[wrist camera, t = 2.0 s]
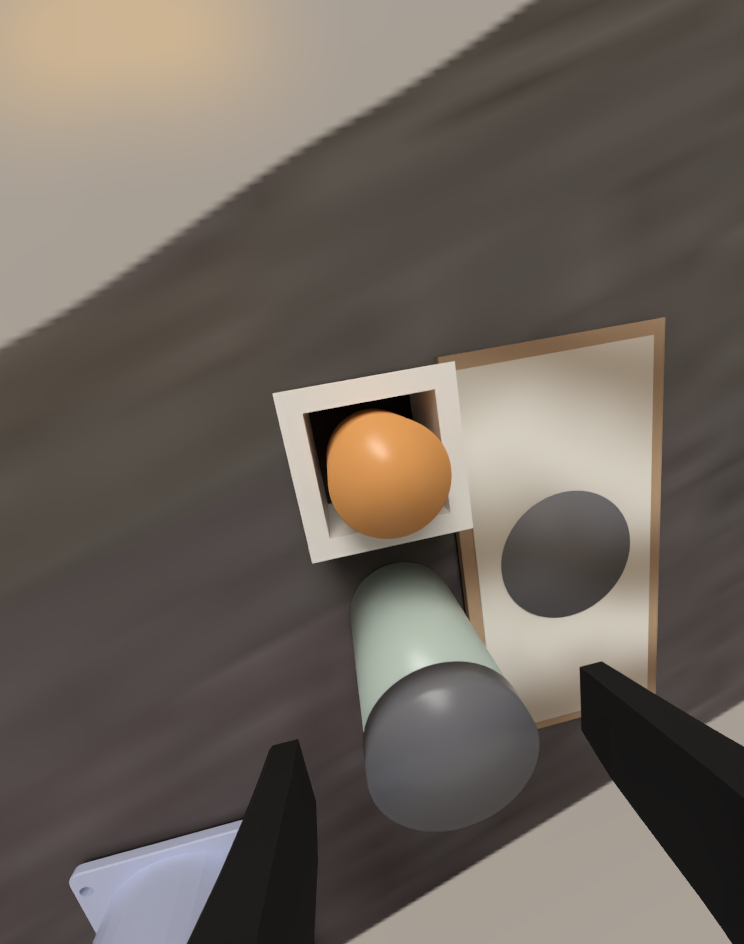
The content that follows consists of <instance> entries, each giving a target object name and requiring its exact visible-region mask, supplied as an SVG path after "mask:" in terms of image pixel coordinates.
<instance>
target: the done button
mask: <svg viewBox="0 0 744 944" xmlns="http://www.w3.org/2000/svg"><path fill="white" fill-rule="evenodd" d="M326 459H327V475H328V488H329V494H330V498H331V501H332V503H333V505H334V508H335V509H336V511H337V513H338V514H339V516H340V517H341V518H342V519H343V520H344V521H345V522H346V523H347V524H348V525H349V526H350V527H352V528H353V529H354V530H356V531H358V532H360V533H362V534H364V535H367V536H370V537H374V538H380V539H394V538H401V537H404V536H408V535H410V534H413V533H415V532H417V531H419V530H420V529H422V528H424V527H425V526H426V525H428V524H429V523H430V522H431V521H432V520H433V519H434V518H435V517H436V516H437V515H438V513H439V512H440V511H441V509H442V508H443V506H444V504H445V502H446V500H447V497H448V494H449V492H450V487H451V479H452V472H451V464H450V460H449V457H448V454H447V451H446V449H445V447H444V446H443V444H442V443H441V441H440V440H439V439H438V437H437V436H436V435H435V434H434V433H433V432H432V431H430V430H429V429H428V428H426V427H425V426H423V425H421V424H419V423H417V422H415V421H413V420H410V419H407V418H405V417H402V416H400V415H397V414H395V413H392V412H390V411H387V410H383V409H364V410H360V411H357V412H355V413H353V414H351V415H349V416H347V417H346V418H345V419H343V420H342V421H341V422H340V423H339V424H338V425H337V427H336V428H335V429H334V431H333V433H332V434H331V437H330V439H329V442H328V446H327V452H326Z"/></svg>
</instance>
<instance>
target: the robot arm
mask: <svg viewBox="0 0 744 944" xmlns="http://www.w3.org/2000/svg"><path fill="white" fill-rule="evenodd" d="M579 669H580V699H581V729H582V731H583V733H584V735H585V736H586V738H587V740H588V741H589V743H590V745H591V746H592V748H593V750H594V751H595V753H596V755H597V756H598V758H599V760H600V761H601V763H602V764H603V766H604V768H605V769H606V771H607V772H608V774H609V776H610V777H611V779H612V780H613V781H614V783H615V784H616V785H617V787H618V788H619V789H620V791H621V792H622V794H623V795H624V796H625V798H626V799H627V800H628V802H629V803H630V804H631V806H632V807H633V808H634V810H635V811H636V812H637V814H638V815H639V817H640V818H641V819H642V821H643V822H644V823H645V825H646V826H647V827H648V829H649V830H650V831H651V833H652V834H653V835H654V836H655V838H656V839H657V841H658V842H659V843H660V845H661V846H662V847H663V848H664V850H665V851H666V853H667V854H668V855H669V857H670V858H671V859H672V861H673V862H674V863H675V865H676V866H677V867H678V869H679V870H680V871H681V873H682V874H683V875H684V877H685V878H686V879H687V881H688V882H689V883H690V885H691V886H692V887H693V889H694V890H695V891H696V893H697V894H698V895H699V897H700V898H701V900H702V901H703V902H704V904H705V905H706V906H707V908H708V909H709V911H710V912H711V914H712V915H713V916H714V918H715V919H716V921H717V922H718V923H719V925H720V926H721V928H722V929H723V931H724V932H725V933H726V935H727V937H728V938H729V940H730V941H731V942H732V944H744V747H743V746H742V745H740V744H738V743H736V742H735V741H733V740H731V739H729V738H728V737H726V736H724V735H722V734H721V733H719V732H717V731H715V730H714V729H712V728H710V727H709V726H707V725H705V724H704V723H702V722H700V721H699V720H697V719H695V718H694V717H692V716H690V715H689V714H687V713H685V712H684V711H682V710H680V709H679V708H677V707H675V706H674V705H672V704H670V703H669V702H667V701H666V700H664V699H662V698H661V697H659V696H657V695H656V694H654V693H653V692H651V691H649V690H648V689H646V688H644V687H643V686H641V685H640V684H638V683H636V682H635V681H633V680H632V679H630V678H628V677H627V676H625V675H624V674H622V673H620V672H619V671H617V670H615V669H614V668H612V667H610V666H609V665H607V664H605V663H604V662H602V661H601V662H597V663H593V664H589V665H585V666H581V667H579ZM317 866H318V850H317V816H316V800H315V797H314V793H313V790H312V786H311V783H310V779H309V776H308V772H307V769H306V765H305V762H304V758H303V755H302V751H301V748H300V744H299V741H298V739H297V740H293V741H289V742H285V743H281V744H277V745H273V746H272V747H271V749H270V750H269V752H268V755H267V758H266V761H265V763H264V766H263V769H262V772H261V774H260V777H259V780H258V782H257V785H256V788H255V790H254V793H253V795H252V798H251V800H250V803H249V805H248V808H247V810H246V813H245V815H244V818H243V819H242V820H239V821H235V822H232V823H228V824H224V825H221V826H217V827H213V828H210V829H206V830H203V831H199V832H195V833H192V834H188V835H184V836H181V837H177V838H174V839H170V840H166V841H163V842H159V843H155V844H152V845H148V846H144V847H141V848H137V849H134V850H130V851H126V852H123V853H119V854H115V855H112V856H108V857H105V858H101V859H97V860H94V861H90V862H86V863H83V864H81V865H79V866H78V867H77V868H76V869H75V870H74V872H73V874H72V876H71V878H70V881H69V884H70V887H71V889H72V891H73V892H74V894H75V896H76V898H77V900H78V902H79V903H80V905H81V907H82V909H83V911H84V912H85V914H86V916H87V918H88V920H89V921H90V923H91V925H92V927H93V929H94V930H95V932H96V936H95V939H94V941H93V944H314V927H315V907H316V887H317Z"/></svg>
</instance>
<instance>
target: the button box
mask: <svg viewBox="0 0 744 944" xmlns="http://www.w3.org/2000/svg"><path fill="white" fill-rule="evenodd" d="M272 394H273V398H274V403H275V407H276V411H277V415H278V420H279V424H280V428H281V432H282V437H283V441H284V445H285V449H286V454H287V458H288V462H289V466H290V471H291V475H292V479H293V483H294V488H295V492H296V496H297V500H298V505H299V509H300V513H301V517H302V522H303V526H304V530H305V534H306V539H307V543H308V547H309V551H310V556H311V560H312V563H317V562H321V561H326V560H330V559H335V558H340V557H344V556H349V555H353V554H358V553H362V552H367V551H371V550H376V549H380V548H385V547H390V546H394V545H399V544H403V543H408V542H412V541H417V540H421V539H426V538H431V537H435V536H440V535H444V534H449V533H453V532H458V531H462V530H467V529H471V528H473V521H472V512H471V503H470V494H469V485H468V476H467V467H466V458H465V449H464V440H463V431H462V422H461V413H460V404H459V395H458V386H457V377H456V368H455V361H452V362H446V363H441V364H435V365H429V366H424V367H418V368H413V369H407V370H401V371H396V372H390V373H385V374H379V375H373V376H368V377H362V378H356V379H351V380H345V381H340V382H334V383H328V384H323V385H317V386H312V387H306V388H300V389H295V390H289V391H284V392H278V393H272ZM406 394H409V396H410V403H411V410H412V417H413V421H415V422H417V423H419V424H421V425H423V426H425V427H426V428H428V429H429V430H430V431H432V432H433V433H434V434H435V435H436V436H437V437H438V439H439V440H440V441H441V443H442V444H443V446H444V447H445V449H446V451H447V454H448V457H449V460H450V464H451V472H452V479H451V487H450V492H449V494H448V497H447V500H446V502H445V504H444V506H443V508H442V509H441V511H440V512H439V513H438V515H437V516H436V517H435V518H434V519H433V520H432V521H431V522H430V523H429V524H428V525H426V526H425V527H424V528H422V529H420V530H419V531H417V532H415V533H413V534H410V535H408V536H404V537H401V538H394V539H380V538H374V537H370V536H367V535H364V534H362V533H360V532H358V531H356V530H354V529H353V528H352V527H350V526H349V525H348V524H347V523H346V522H345V521H344V520H343V519H342V518H341V517H340V516H339V514H338V513H337V511H336V509H335V508H334V505H333V503H331V504H328V502H327V497H326V493H325V488H324V483H323V479H322V474H321V469H320V465H319V460H318V455H317V451H316V446H315V441H314V437H313V432H312V427H311V423H310V418H309V412H314V411H320V410H325V409H330V408H336V407H341V406H347V405H352V404H358V403H363V402H368V401H374V400H379V399H385V398H390V397H396V396H401V395H406Z"/></svg>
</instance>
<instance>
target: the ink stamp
mask: <svg viewBox="0 0 744 944" xmlns="http://www.w3.org/2000/svg"><path fill="white" fill-rule="evenodd" d="M350 623H351V631H352V640H353V648H354V656H355V665H356V673H357V681H358V690H359V698H360V707H361V715H362V723H363V732H364V734H363V749H364V758H365V767H366V776H367V783H368V789H369V792H370V795H371V797H372V799H373V801H374V803H375V804H376V806H377V807H378V808H379V810H380V811H381V812H382V813H383V814H384V815H386V816H387V817H388V818H389V819H391V820H392V821H394V822H396V823H398V824H400V825H402V826H404V827H407V828H410V829H414V830H419V831H428V832H443V831H451V830H456V829H461V828H465V827H468V826H471V825H474V824H476V823H479V822H481V821H483V820H485V819H487V818H489V817H491V816H492V815H494V814H496V813H497V812H499V811H500V810H501V809H503V808H504V807H505V806H507V805H508V804H509V803H510V802H511V801H512V800H513V799H514V798H515V797H516V796H517V795H518V794H519V793H520V792H521V791H522V789H523V788H524V787H525V785H526V784H527V782H528V781H529V779H530V777H531V776H532V773H533V771H534V769H535V767H536V763H537V760H538V755H539V734H538V730H537V727H536V724H535V722H534V720H533V718H532V716H531V715H530V713H529V711H528V710H527V708H526V707H525V705H524V704H523V702H522V700H521V699H520V697H519V696H518V694H517V692H516V691H515V689H514V688H513V686H512V685H511V684H510V683H509V681H508V680H507V679H505V677H504V675H503V674H502V672H501V671H500V669H499V667H498V666H497V664H496V663H495V661H494V659H493V658H492V656H491V655H490V653H489V651H488V650H487V648H486V647H485V645H484V643H483V642H482V640H481V639H480V637H479V635H478V634H477V632H476V631H475V629H474V627H473V626H472V624H471V623H470V621H469V619H468V618H467V616H466V615H465V613H464V611H463V610H462V608H461V607H460V605H459V603H458V602H457V600H456V599H455V597H454V595H453V594H452V592H451V591H450V589H449V587H448V586H447V584H446V583H445V581H444V580H443V578H442V577H441V576H440V575H439V574H438V573H437V572H435V571H434V570H432V569H431V568H429V567H427V566H424V565H422V564H418V563H413V562H399V563H393V564H390V565H386V566H384V567H381V568H379V569H378V570H376V571H374V572H373V573H371V574H370V575H369V576H367V577H366V578H365V579H364V580H363V581H362V583H361V584H360V585H359V586H358V588H357V589H356V591H355V593H354V595H353V597H352V601H351V605H350Z"/></svg>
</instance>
